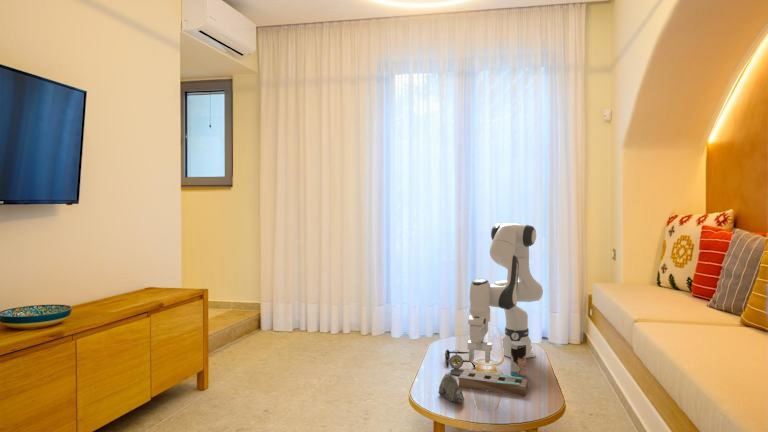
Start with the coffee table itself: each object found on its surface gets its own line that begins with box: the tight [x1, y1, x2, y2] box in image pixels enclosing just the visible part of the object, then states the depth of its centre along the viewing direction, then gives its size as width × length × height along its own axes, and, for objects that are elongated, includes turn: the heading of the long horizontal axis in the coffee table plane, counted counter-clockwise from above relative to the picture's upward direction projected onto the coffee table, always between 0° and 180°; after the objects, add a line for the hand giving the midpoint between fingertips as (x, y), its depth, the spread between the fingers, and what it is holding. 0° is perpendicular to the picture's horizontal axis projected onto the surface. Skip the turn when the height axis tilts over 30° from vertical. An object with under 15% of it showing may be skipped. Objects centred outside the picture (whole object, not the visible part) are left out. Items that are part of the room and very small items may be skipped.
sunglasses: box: [444, 349, 476, 368], centre depth 247 cm, size 14×15×5 cm
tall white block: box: [467, 339, 493, 364], centre depth 217 cm, size 3×10×8 cm, turn 67°
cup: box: [510, 341, 527, 378], centre depth 229 cm, size 7×7×15 cm
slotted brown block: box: [458, 369, 529, 397], centre depth 214 cm, size 10×28×4 cm, turn 67°
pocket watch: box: [448, 349, 465, 376], centre depth 233 cm, size 8×8×10 cm
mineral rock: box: [438, 373, 465, 404], centre depth 201 cm, size 13×11×10 cm
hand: (479, 348), depth 216 cm, fingers closed on tall white block, 3 cm apart
